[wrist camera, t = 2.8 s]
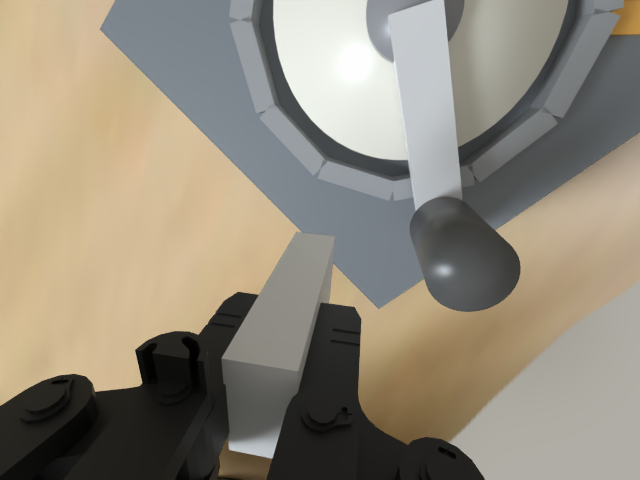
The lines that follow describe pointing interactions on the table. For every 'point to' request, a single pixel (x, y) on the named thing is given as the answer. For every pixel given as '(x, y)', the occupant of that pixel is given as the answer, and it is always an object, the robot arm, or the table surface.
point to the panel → (370, 172)
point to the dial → (422, 108)
